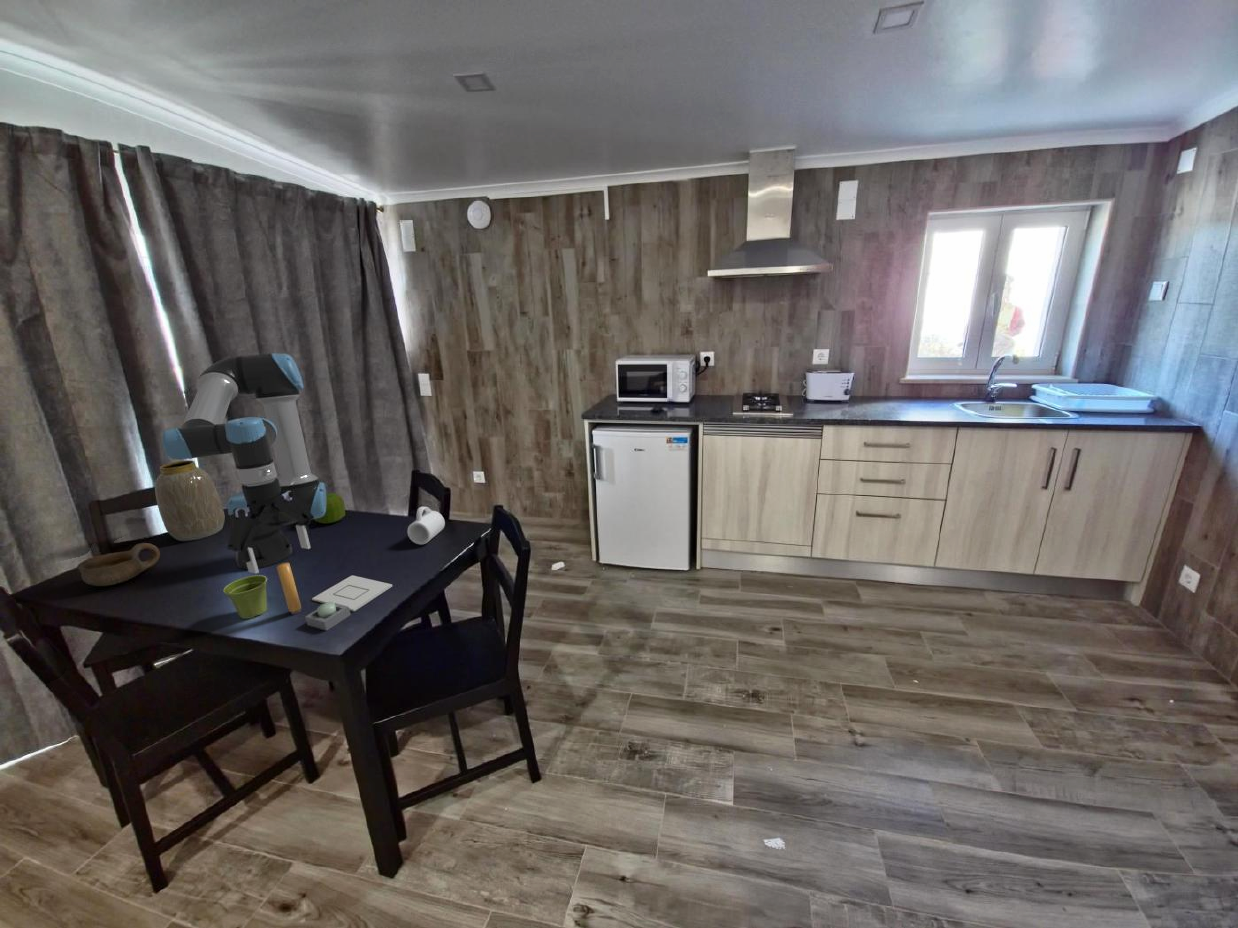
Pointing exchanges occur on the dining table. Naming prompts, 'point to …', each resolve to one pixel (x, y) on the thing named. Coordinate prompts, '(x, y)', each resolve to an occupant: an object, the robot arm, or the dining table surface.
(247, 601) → the plant pot
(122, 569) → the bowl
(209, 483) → the vase
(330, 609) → the button
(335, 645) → the dining table surface
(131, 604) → the dining table surface
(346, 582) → the sheet
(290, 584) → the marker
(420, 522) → the mug
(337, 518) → the apple
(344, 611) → the button housing
